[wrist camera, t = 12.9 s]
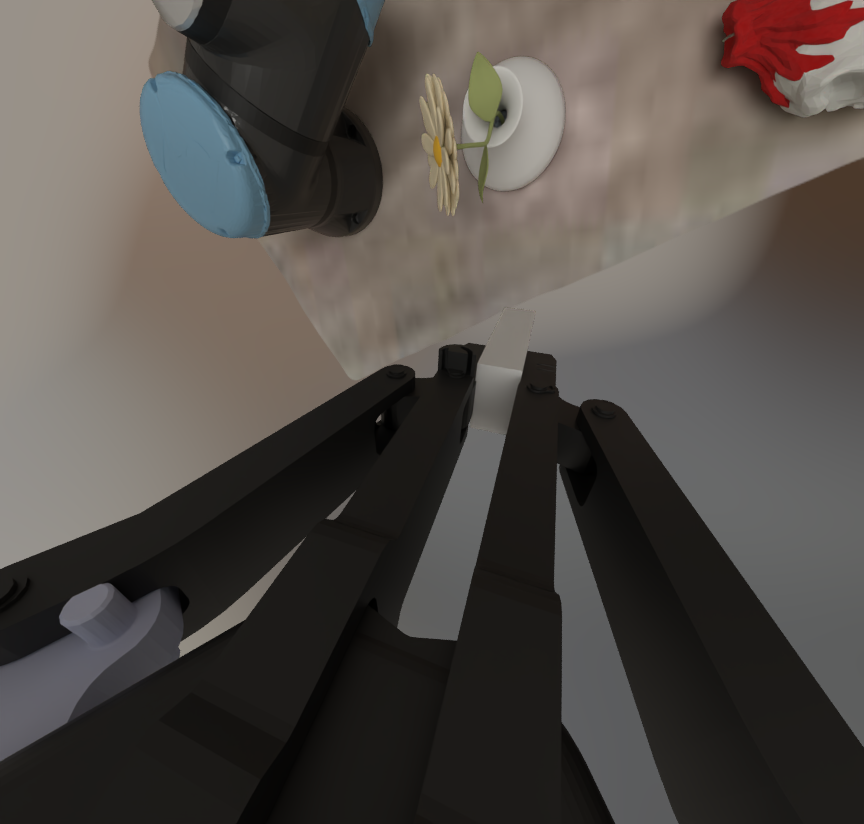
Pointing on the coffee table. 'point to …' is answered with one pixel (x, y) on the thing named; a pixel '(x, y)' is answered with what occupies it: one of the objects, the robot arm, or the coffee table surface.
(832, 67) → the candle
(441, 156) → the flower in vase
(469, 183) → the coffee table surface
